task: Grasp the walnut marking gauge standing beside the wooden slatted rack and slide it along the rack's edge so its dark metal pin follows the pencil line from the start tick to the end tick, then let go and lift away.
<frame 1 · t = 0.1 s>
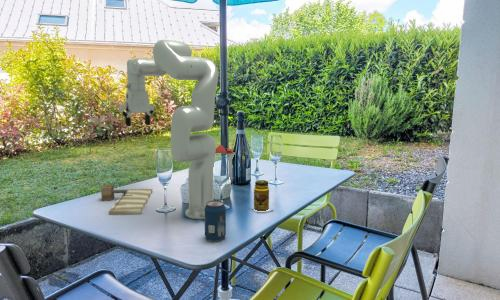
hand: (138, 125, 169), 31 cm above the table, tool pointing down, fingers open, 9 cm apart
soda can: (215, 238, 122), on the table
condiment: (260, 209, 150), on the table
wooden slatted rack: (132, 202, 157), on the table
marking gauge: (108, 199, 161), on the table
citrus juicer: (218, 183, 189), on the table
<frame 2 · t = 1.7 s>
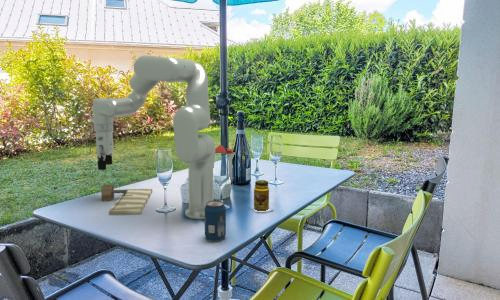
hand: (105, 167, 158), 14 cm above the table, tool pointing down, fingers open, 9 cm apart
nothing on the table moved.
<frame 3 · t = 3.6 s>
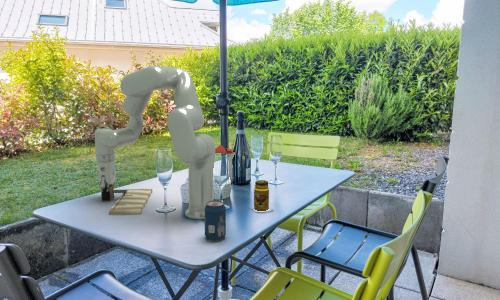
hand: (107, 197, 161), 1 cm above the table, tool pointing down, fingers closed on marking gauge, 5 cm apart
marking gauge: (108, 199, 161), on the table, touching gripper
everything else where it was.
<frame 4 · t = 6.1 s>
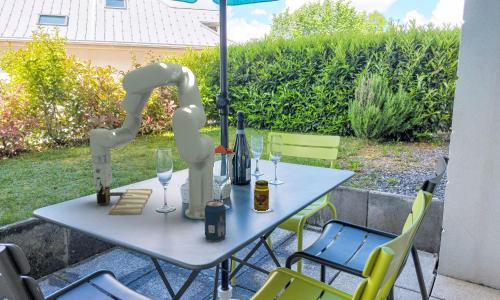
hand: (103, 200, 154), 1 cm above the table, tool pointing down, fingers closed on marking gauge, 5 cm apart
marking gauge: (104, 202, 154), point 1 cm above the table, touching gripper
everything else where it was.
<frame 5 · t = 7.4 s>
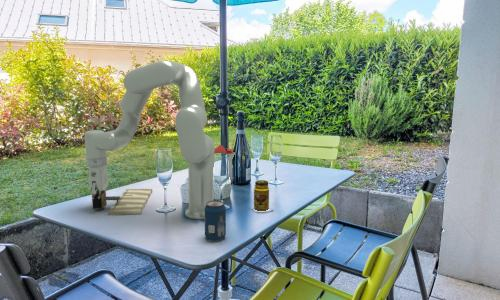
hand: (99, 205, 148), 2 cm above the table, tool pointing down, fingers closed on marking gauge, 5 cm apart
marking gauge: (99, 207, 148), point 1 cm above the table, touching gripper
everything else where it was.
when the fingers open (2 cm above the table, at t = 8.6 s): marking gauge stays where it is, on the table.
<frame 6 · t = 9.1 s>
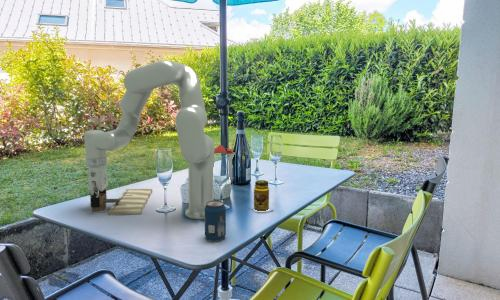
hand: (99, 203, 148), 2 cm above the table, tool pointing down, fingers open, 9 cm apart
marking gauge: (99, 209, 148), on the table
everything else where it was.
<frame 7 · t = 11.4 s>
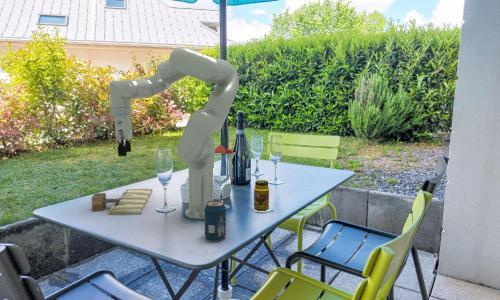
hand: (125, 153, 150), 22 cm above the table, tool pointing down, fingers open, 9 cm apart
nothing on the table moved.
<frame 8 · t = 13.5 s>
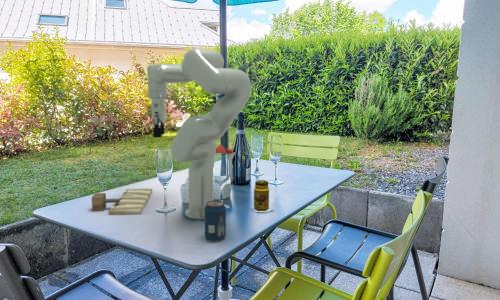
hand: (159, 135, 156), 28 cm above the table, tool pointing down, fingers open, 9 cm apart
nothing on the table moved.
at the end: marking gauge 0.2 cm from the target spot, on the table; marking gauge tilted 0°; the gripper is holding nothing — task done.
